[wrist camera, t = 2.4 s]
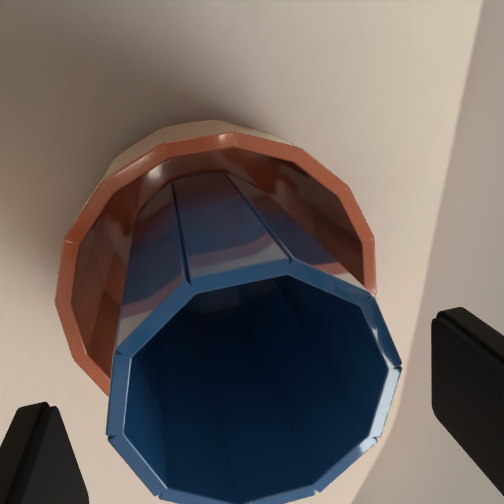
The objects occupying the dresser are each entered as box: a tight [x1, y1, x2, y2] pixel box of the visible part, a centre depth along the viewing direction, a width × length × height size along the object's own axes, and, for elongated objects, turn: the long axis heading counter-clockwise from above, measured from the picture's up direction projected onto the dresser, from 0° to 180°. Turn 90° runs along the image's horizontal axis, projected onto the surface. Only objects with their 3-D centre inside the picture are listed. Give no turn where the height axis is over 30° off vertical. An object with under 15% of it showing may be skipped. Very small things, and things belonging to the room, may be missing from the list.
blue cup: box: [106, 172, 402, 504], centre depth 16 cm, size 7×7×11 cm
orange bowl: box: [55, 120, 377, 397], centre depth 19 cm, size 11×11×6 cm
